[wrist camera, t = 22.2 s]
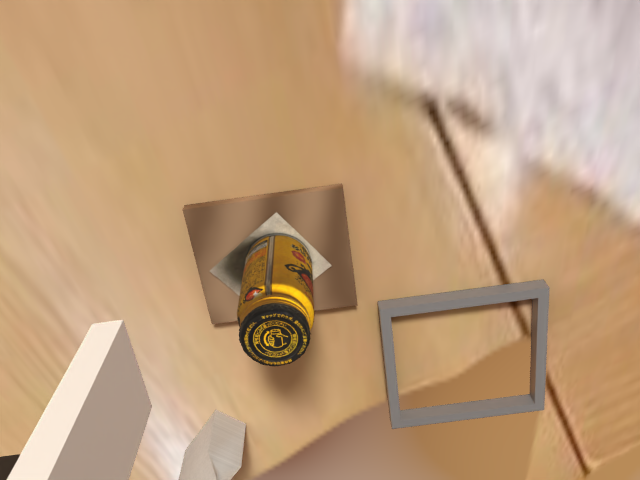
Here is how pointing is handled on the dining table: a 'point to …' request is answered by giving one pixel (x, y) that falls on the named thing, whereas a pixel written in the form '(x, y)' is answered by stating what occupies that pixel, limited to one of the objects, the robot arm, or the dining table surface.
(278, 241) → the yellow cylindrical jar
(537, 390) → the square collar
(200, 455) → the white milk carton
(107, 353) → the robot arm
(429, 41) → the dining table surface
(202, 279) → the walnut board
